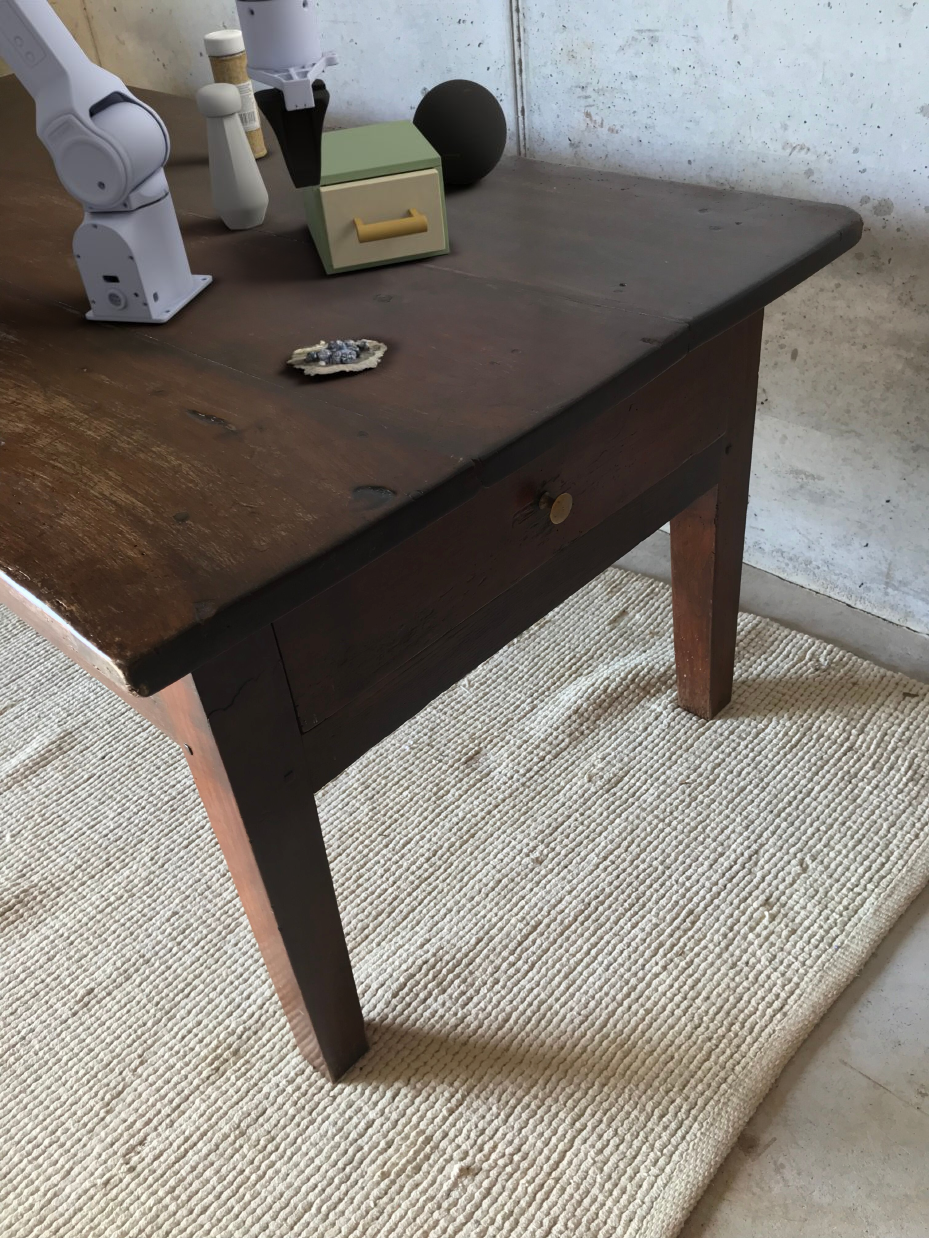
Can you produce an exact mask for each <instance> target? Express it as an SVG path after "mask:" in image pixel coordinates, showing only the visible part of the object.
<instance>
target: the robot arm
mask: <svg viewBox="0 0 929 1238" xmlns="http://www.w3.org/2000/svg"><path fill="white" fill-rule="evenodd" d="M234 2H235V7H236V11H237V16H238V21H239V26H240V31H241V32H242V37H243V42H244V47H245V52H246V58H247V64H246V71H247V76H248V77H249V78H250V79H251V81H252V80H253V81H255V82H257V83H260V84H264V85H266V86H270V87H271V88H266V89H265V88H264V89H260V90H256V91H255V92H254V98H255V100H256V103H257V108H258V110H259V111H260V112H261V113H262V115H263V116H264V118H265V120H266V121H267V123H268V124H269V126H270V127H271V129H272V131H273V133H274V135H275V137H276V140H277V142H278V145H279V149H280V151H281V155H282V158H283V160H284V163H285V166H286V169H287V172H288V174H289V177H290V179H291V182H292V184H293V186H294V187H295V189H301V188H303V187H309V186H315V185H320V181H321V144H322V133H323V129H324V123H325V118H326V115H327V110H328V108H329V105H330V99H331V96H330V92H329V90H328V89H327V86H326V83H325V82H324V80H323V79H322V78H318V77H319V76H320V75H321V74H322V73H323V71H324V70H325V69H326V68H327V67H333V66H337V65H339V62H340V60H339V55H338V53H337V52H336V51H335V50H325V51H322V46H321V39H320V35H319V34H320V32H319V26H318V20H317V14H316V8H315V0H234ZM0 57H1V58H2V60H4V62H5V64H6V65H7V66H8V67H9V69H10V70H11V71H12V72H13V74H14V75H15V76H16V78H17V80H18V81H19V82H20V83H21V84H22V86H23V87H24V89H25V90H26V91H27V92H28V93H29V95H30V96H31V98H32V99H33V100H34V103H35V131H36V136H37V137H38V139H39V140H40V141H41V142H42V144H43V145H44V147H45V148H46V150H47V151H48V153H49V155H50V157H51V160H52V162H53V165H54V169H55V172H56V174H57V177H58V179H59V182H60V183H61V184H62V185H63V188H64V189H65V190H66V191H67V192H68V193H69V194H70V195H71V196H72V197H73V198H74V199H75V200H77V202H79V203H81V205H82V208H83V212H84V216H83V220H82V222H81V224H80V225H79V226H78V227H77V229H76V230H75V231H74V234H73V238H72V243H71V244H72V253H73V257H74V261H75V263H76V266H77V269H78V272H79V275H80V278H81V281H82V284H83V287H84V290H85V294H86V296H87V299H88V302H89V305H90V308H91V309H90V310H89V311H87V312H86V313H85V318H86V320H88V321H102V322H103V321H107V322H125V323H127V322H129V323H148V324H149V323H151V324H164V323H166V322H168V321H169V320H171V318H173V316H175V315H176V314H177V313H178V312H179V311H180V310H181V309H182V308H184V307H185V306H186V305H187V304H188V303H189V302H190V301H192V300H193V299H194V298H195V297H197V295H198V294H200V293H201V292H202V291H203V290H204V289H205V288H207V286H209V285H210V284H211V283H212V282H213V276H212V275H209V274H192V272H191V268H190V267H191V266H190V263H189V260H188V255H187V252H186V249H185V245H184V241H183V238H182V233H181V230H180V225H179V221H178V219H177V214H176V210H175V207H174V206H175V205H174V203H173V199H172V194H171V191H170V187H169V184H168V181H167V178H166V173H165V171H164V167H165V166H166V164H167V162H168V160H169V157H170V152H171V139H170V135H169V132H168V129H167V127H166V125H165V123H164V121H163V119H162V118H161V117H160V115H159V114H158V112H156V111H155V110H154V109H153V108H152V107H151V106H150V105H148V104H146V103H144V102H143V101H142V100H140V99H138V98H137V97H136V96H135V95H134V94H133V93H132V92H131V91H130V90H129V89H128V88H127V87H126V85H125V84H124V82H123V81H122V79H121V78H120V77H118V75H115V74H114V73H112V72H110V71H108V70H106V69H105V68H102V67H101V66H99V65H97V64H96V63H94V62H92V61H91V60H90V59H89V57H88V56H87V55H86V53H85V52H84V51H83V49H82V48H81V46H80V45H79V43H78V42H77V41H76V40H75V38H74V37H73V35H72V34H71V32H70V31H69V30H68V28H67V27H66V26H65V24H64V23H63V22H62V19H61V18H60V17H59V16H58V15H57V13H56V12H55V10H54V9H53V8H52V6H51V5H50V4H49V2H48V0H0Z"/></svg>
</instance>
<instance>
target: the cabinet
mask: <svg viewBox="0 0 929 1238" xmlns="http://www.w3.org/2000/svg"><path fill="white" fill-rule="evenodd" d="M418 169H425V170H429V169H436V170H437V172H438V177H439V187H440V197H441V208H442V218H443V228H444V239H445V249H443V250H438V251H432V252H426V253H421V254H415V255H409V256H404V257H398V258H392V259H387V260H381V261H375V262H369V263H364V264H358V265H352V266H347V267H341V268H335V269H334V267H333V265H332V261H331V255H330V249H329V243H328V237H327V231H326V225H325V220H324V214H323V208H322V202H321V196H320V190H319V188H320V187H321V185H327V184H333V183H339V182H345V181H351V180H357V179H363V178H369V177H375V176H381V175H388V174H394V173H400V172H406V171H412V170H418ZM300 189H301V194H302V199H303V204H304V210H305V216H306V223H307V227H308V230H309V232H310V235H311V237H312V239H313V242H314V245H315V247H316V250H317V252H318V255H319V257H320V260H321V263H322V265H323V267H324V270H325V273H326V275H327V276H328V275H335V274H340V273H345V272H351V271H357V270H361V269H368V268H375V267H380V266H384V265H386V266H387V265H391V264H396V263H401V262H403V263H404V262H406V261H407V262H408V261H413V260H418V259H425V258H429V257H436V256H442V255H447V254H450V245H449V244H450V243H449V231H448V220H447V219H448V218H447V211H446V199H445V198H446V197H445V190H444V189H445V187H444V182H443V177H442V167H441V157H440V156H439V154H438V153H437V152H436V151H435V150H434V148H433V147H432V146H431V145H430V143H429V142H428V141H427V140H426V139H425V137H424V136H423V135H422V134H421V133H420V131H419V130H418V129H417V128H416V127H415V125H414V124H413V121H412V120H410V119H409V118H408V119H402V120H395V121H389V122H382V123H376V124H371V125H364V126H357V127H351V128H350V127H349V128H345V129H337V130H332V131H326V132H325V131H324V132H322V144H321V181H320V185H315V186H309V187H303V188H300Z"/></svg>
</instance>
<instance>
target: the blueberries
mask: <svg viewBox="0 0 929 1238" xmlns="http://www.w3.org/2000/svg"><path fill="white" fill-rule="evenodd" d="M387 350H388V347H387V345H385V344H384V342H380V343H379V342H378V341H377V340H369V339H364V338H362V339H361V340H359V339H357V341H354V340H352V339H350V338H349V339H348V338H347V339H345V340H344V341H341V340H340V339H335V340H334V341H333V340H330V341H329V342H328V343H326V342H325V340H324V339H323V340H320V342H319V343H318V344H316V343H314V344H312V345H305V346H301V347H299V348H297V349H296V350H293V352H292V354H291V355H290V357H289V359H288V361H286V363H287V364H292V365H293V368H296V369H302V370H304V371H303V374H304V375H310V376H311V377H313V376H315V375H317V374H319V375H327V374H333V373H337V372H340V371H346V372H350V371H353V372H355V371H356V372H359V371H363V370H365V369H366V368H367V369H369V368H374V369H375V368H377V366H378V364H379V363H380V362H381V361H382V359H381V357H384V354H385V352H386V351H387Z"/></svg>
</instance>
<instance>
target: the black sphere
mask: <svg viewBox="0 0 929 1238" xmlns="http://www.w3.org/2000/svg"><path fill="white" fill-rule="evenodd" d="M412 123H413V124H414V125H415V127H416V128H417V129H418V130H419V131H420V133H421V134H422V135H423V136H424V137H425V139H426V140H427V141H428V142H429V143H430V145H431V146H432V147H433V148H434V150H435V151H436V152H437V153H438V154H439V156H440V157H441V167H442V177H443V183H447V184H449V185H450V184H451V185H457V186H458V185H460V186H461V185H469V184H473V183H476V182H478V181H480V180H482V179H484V178H485V177H487V175H489V174H490V173H491V172H492V171H493V170H494V169H495V168H496V166H498V164H499V162H500V161H501V158H502V156H503V154H504V152H505V148H506V145H507V137H508V127H507V126H508V125H507V120H506V116H505V113H504V110H503V107H502V105H501V104H500V102H499V100H498V99H497V97H496V96H495V95H494V94H493V93H492V92H491V91H490V90H489V89H487V88H486V87H485V86H484V85H481V84H480V83H479V82H475V81H473V80H471V79H470V80H469V79H463V78H456V79H455V78H454V79H449V80H446V81H443V82H441V83H438V84H437V85H435V86H434V87H432V88H431V89H429V90H428V91H427V93H425V95H424V96H423V97H422V98H421V100H420V101H419V103H418V104H417V106H416V108H415V112H414V115H413V118H412Z"/></svg>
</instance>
